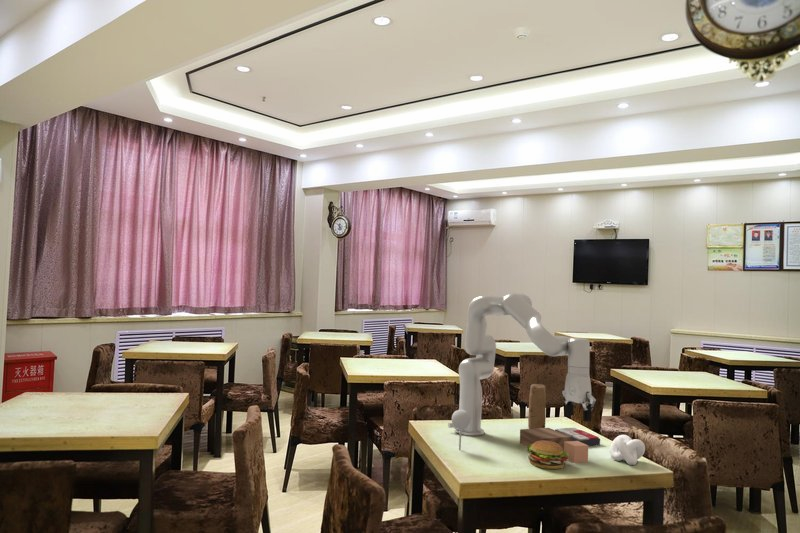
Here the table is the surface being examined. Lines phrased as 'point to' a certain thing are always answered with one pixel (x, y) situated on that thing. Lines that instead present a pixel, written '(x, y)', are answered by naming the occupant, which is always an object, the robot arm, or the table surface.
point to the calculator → (581, 436)
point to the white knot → (627, 449)
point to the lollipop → (460, 421)
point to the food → (547, 455)
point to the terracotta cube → (576, 451)
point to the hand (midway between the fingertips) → (578, 418)
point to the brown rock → (537, 406)
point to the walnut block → (542, 436)
